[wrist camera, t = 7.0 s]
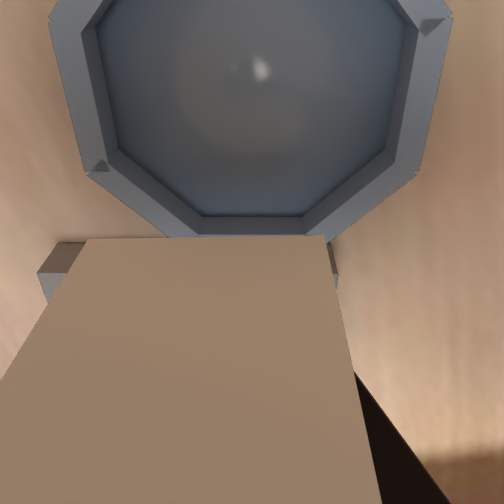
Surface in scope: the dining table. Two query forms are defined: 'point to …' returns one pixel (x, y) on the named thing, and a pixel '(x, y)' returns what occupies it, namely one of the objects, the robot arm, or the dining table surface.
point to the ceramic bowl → (251, 107)
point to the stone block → (188, 380)
